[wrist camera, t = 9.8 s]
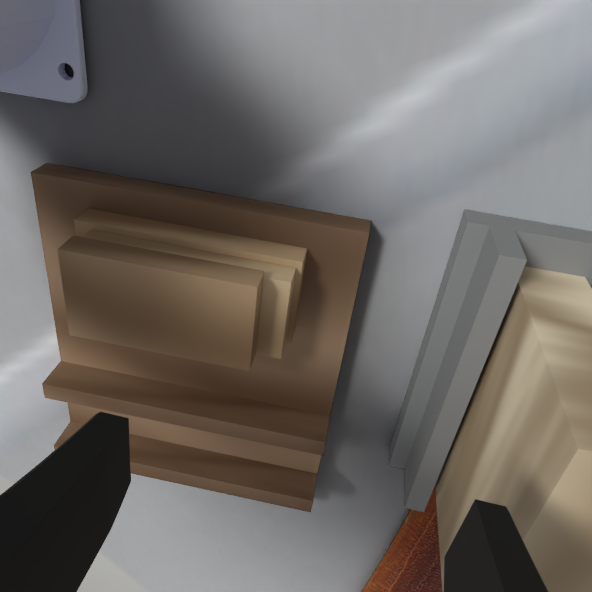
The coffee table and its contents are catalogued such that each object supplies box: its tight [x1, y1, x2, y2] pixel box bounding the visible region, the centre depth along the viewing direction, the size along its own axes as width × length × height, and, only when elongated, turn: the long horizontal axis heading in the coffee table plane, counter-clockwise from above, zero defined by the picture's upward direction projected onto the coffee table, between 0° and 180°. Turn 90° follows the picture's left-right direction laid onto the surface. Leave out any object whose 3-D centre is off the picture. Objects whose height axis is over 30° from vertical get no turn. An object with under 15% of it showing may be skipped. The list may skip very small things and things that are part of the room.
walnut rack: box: [31, 163, 371, 512], centre depth 22 cm, size 15×12×2 cm
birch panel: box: [435, 266, 592, 592], centre depth 17 cm, size 2×10×8 cm, turn 173°
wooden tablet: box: [361, 486, 442, 592], centre depth 29 cm, size 27×10×2 cm, turn 166°
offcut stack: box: [57, 208, 307, 371], centre depth 19 cm, size 4×8×3 cm, turn 83°
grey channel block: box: [389, 210, 592, 512], centre depth 20 cm, size 12×6×3 cm, turn 173°
